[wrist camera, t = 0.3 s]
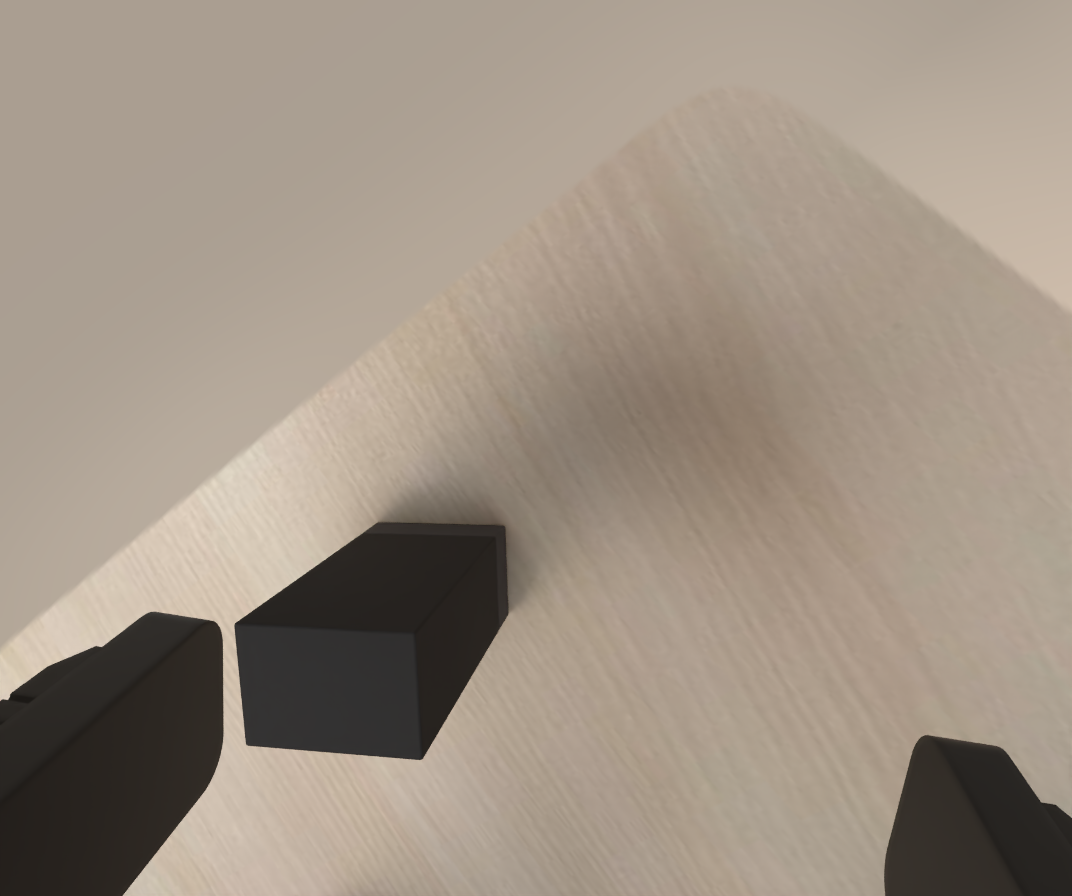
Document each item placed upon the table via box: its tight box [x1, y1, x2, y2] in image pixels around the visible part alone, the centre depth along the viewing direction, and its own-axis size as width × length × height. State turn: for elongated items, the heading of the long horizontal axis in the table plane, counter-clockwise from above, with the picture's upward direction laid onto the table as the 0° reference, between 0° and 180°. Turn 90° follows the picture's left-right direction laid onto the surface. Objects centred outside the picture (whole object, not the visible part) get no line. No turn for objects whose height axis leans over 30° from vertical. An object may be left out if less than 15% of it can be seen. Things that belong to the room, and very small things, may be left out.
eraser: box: [235, 522, 508, 760], centre depth 26 cm, size 4×5×10 cm
